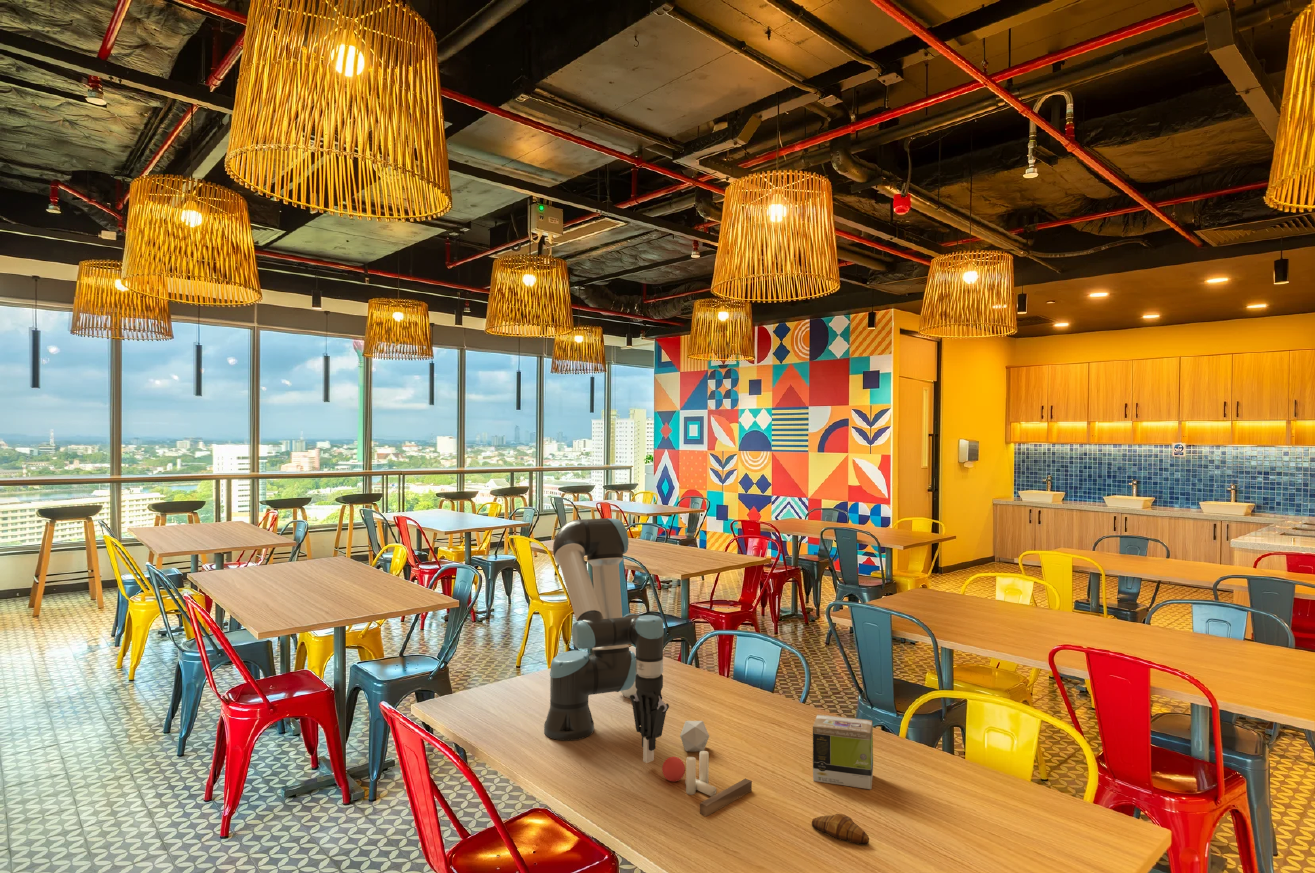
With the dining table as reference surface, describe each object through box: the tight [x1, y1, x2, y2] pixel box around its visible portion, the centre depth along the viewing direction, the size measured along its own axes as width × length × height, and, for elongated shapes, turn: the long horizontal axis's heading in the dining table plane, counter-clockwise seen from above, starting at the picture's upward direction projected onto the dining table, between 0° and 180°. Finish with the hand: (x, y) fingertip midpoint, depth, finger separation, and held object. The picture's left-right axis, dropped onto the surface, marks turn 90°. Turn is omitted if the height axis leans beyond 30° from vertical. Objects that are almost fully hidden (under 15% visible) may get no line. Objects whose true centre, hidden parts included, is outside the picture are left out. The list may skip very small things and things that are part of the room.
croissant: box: [811, 813, 870, 846], centre depth 166 cm, size 14×7×5 cm, turn 54°
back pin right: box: [685, 756, 697, 795], centre depth 186 cm, size 2×2×8 cm
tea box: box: [812, 713, 874, 790], centre depth 195 cm, size 15×10×15 cm, turn 71°
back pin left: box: [698, 750, 710, 784], centre depth 190 cm, size 2×2×8 cm
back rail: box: [699, 778, 753, 817], centre depth 181 cm, size 2×18×2 cm, turn 136°
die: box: [679, 720, 710, 752], centre depth 212 cm, size 8×9×10 cm
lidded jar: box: [620, 679, 637, 699], centre depth 257 cm, size 11×11×9 cm
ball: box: [661, 756, 686, 782], centre depth 192 cm, size 6×6×6 cm
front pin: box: [684, 778, 717, 797], centre depth 187 cm, size 2×2×8 cm
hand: (648, 760), depth 200 cm, fingers closed
